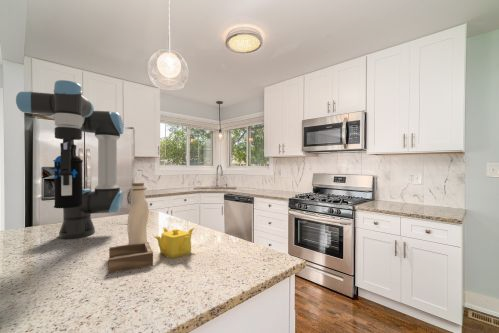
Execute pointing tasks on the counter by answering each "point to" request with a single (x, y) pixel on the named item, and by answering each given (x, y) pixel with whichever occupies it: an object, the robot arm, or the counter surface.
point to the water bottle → (137, 214)
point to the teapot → (175, 242)
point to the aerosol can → (76, 173)
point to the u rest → (130, 257)
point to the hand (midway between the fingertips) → (68, 193)
